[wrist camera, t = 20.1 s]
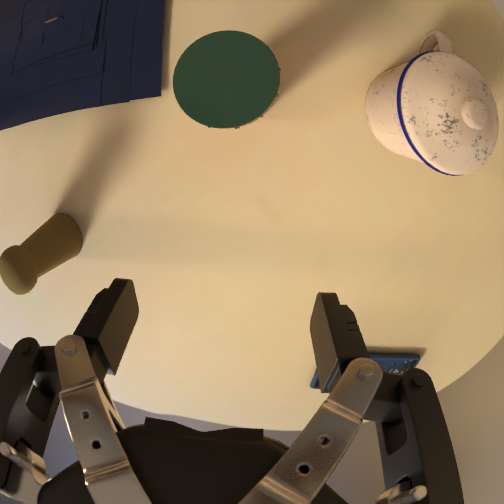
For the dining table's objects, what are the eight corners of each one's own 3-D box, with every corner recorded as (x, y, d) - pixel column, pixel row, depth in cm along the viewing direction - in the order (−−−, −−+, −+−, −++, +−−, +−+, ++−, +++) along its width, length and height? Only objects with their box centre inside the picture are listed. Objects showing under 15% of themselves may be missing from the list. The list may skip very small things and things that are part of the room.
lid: (179, 126, 16) (169, 127, 15) (186, 39, 14) (177, 33, 12) (275, 131, 16) (275, 132, 14) (283, 40, 13) (283, 32, 12)
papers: (1, -3, 13) (-12, -7, 10) (188, -70, 15) (183, -85, 11) (-17, 139, 24) (-34, 144, 20) (168, 100, 25) (158, 98, 22)
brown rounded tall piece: (66, 204, 29) (3, 242, 19) (90, 247, 31) (34, 295, 21) (42, 224, 30) (-14, 262, 20) (64, 263, 32) (13, 308, 22)
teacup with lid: (436, 167, 23) (510, 200, 13) (355, 146, 24) (408, 166, 13) (448, 60, 18) (522, 45, 8) (367, 30, 18) (419, -17, 8)
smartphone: (324, 353, 33) (422, 357, 33) (323, 348, 34) (420, 353, 34) (309, 389, 37) (399, 390, 36) (308, 385, 37) (398, 387, 37)
